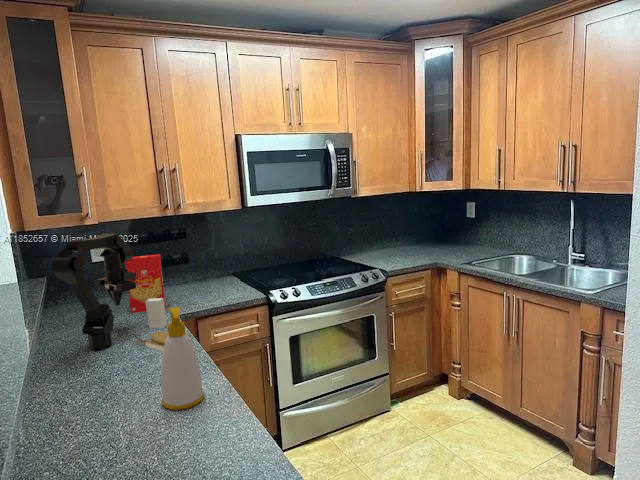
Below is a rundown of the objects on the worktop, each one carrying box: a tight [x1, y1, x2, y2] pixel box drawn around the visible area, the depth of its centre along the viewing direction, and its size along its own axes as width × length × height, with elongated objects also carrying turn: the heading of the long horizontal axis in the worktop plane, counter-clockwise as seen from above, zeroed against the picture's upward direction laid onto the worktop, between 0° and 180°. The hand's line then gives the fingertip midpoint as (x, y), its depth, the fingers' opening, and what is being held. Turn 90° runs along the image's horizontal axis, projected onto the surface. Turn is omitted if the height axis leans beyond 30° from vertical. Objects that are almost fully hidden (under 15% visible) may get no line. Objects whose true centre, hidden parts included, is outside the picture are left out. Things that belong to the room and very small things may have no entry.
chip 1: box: [149, 330, 168, 344], centre depth 159 cm, size 4×4×4 cm
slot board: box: [135, 332, 164, 352], centre depth 160 cm, size 16×8×2 cm, turn 58°
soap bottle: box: [160, 306, 205, 411], centre depth 118 cm, size 11×12×26 cm
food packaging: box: [124, 253, 166, 314], centre depth 203 cm, size 15×5×25 cm, turn 109°
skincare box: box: [146, 298, 168, 329], centre depth 178 cm, size 6×4×12 cm
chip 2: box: [158, 332, 168, 346], centre depth 157 cm, size 4×4×4 cm
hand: (117, 305), depth 170 cm, fingers closed
